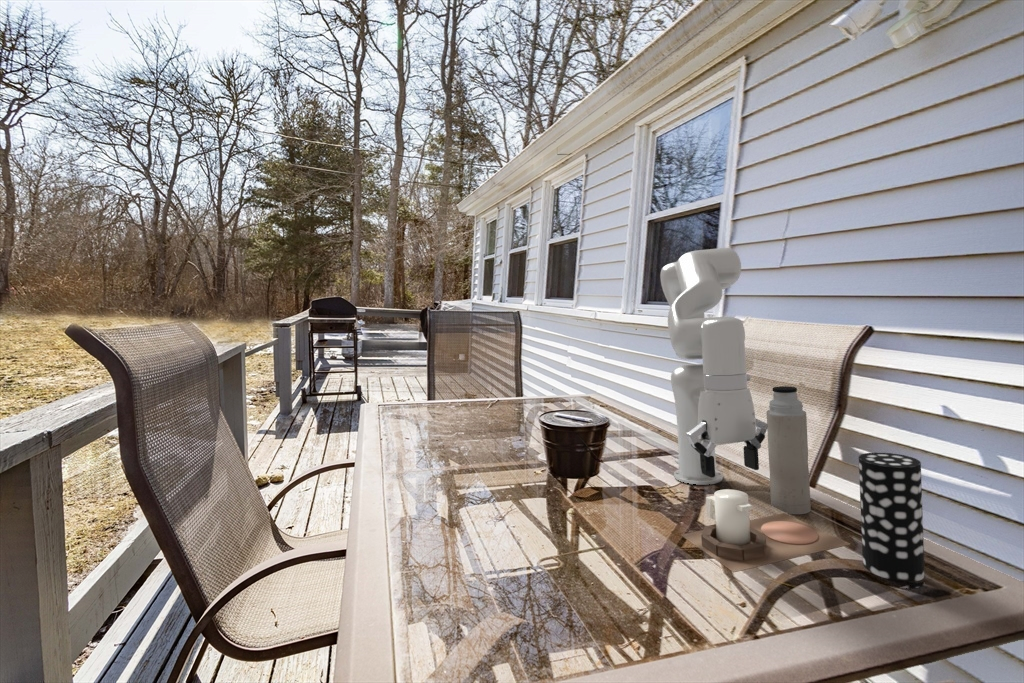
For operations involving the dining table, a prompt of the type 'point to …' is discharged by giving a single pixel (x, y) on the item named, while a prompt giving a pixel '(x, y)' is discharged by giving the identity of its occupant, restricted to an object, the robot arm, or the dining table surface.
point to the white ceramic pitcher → (730, 516)
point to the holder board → (766, 542)
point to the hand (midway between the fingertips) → (730, 471)
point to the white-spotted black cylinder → (892, 517)
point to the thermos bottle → (788, 452)
